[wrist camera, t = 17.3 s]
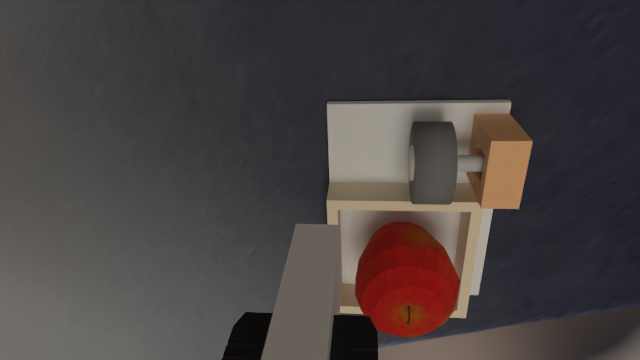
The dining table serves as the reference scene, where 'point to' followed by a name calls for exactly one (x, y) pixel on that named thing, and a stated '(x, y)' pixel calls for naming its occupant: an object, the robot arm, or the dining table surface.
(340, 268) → the robot arm
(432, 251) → the apple
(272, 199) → the dining table surface
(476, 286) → the chassis
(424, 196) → the wheel
